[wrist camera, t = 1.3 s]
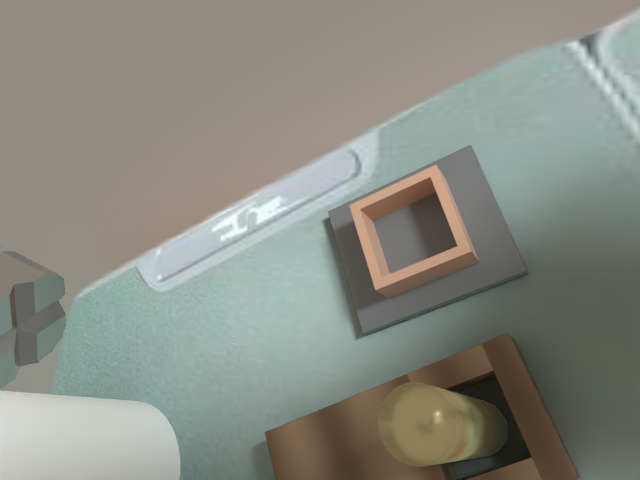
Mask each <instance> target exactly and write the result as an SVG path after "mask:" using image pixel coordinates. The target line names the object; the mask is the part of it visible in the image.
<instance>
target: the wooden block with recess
mask: <svg viewBox="0 0 640 480" xmlns="http://www.w3.org/2000/svg"><path fill="white" fill-rule="evenodd" d="M495 376H496V377H497V380H498V382H499V384H500V386H501V389H502V391H503V393H504V396H505V398H506V400H507V402H508V405H509V407H510V409H511V411H512V414H513V416H514V418H515V420H516V423H517V425H518V427H519V429H520V432H521V434H522V436H523V438H524V441H525V443H526V445H527V447H528V450H529V452H530V454H531V457H532V458H529V459H526V460H523V461H520V462H517V463H514V464H511V465H508V466H505V467H502V468H499V469H496V470H493V471H490V472H487V473H484V474H481V475H478V476H475V477H472V478H469V479H466V480H577V479H578V478H579V476H578V473H577V471H576V469H575V467H574V465H573V463H572V461H571V459H570V456H569V454H568V452H567V450H566V448H565V446H564V444H563V442H562V440H561V437H560V435H559V433H558V431H557V429H556V427H555V425H554V423H553V421H552V418H551V416H550V414H549V412H548V410H547V408H546V406H545V404H544V401H543V399H542V397H541V395H540V393H539V391H538V389H537V387H536V385H535V382H534V380H533V378H532V376H531V374H530V372H529V370H528V368H527V366H526V363H525V361H524V359H523V357H522V355H521V353H520V351H519V349H518V346H517V344H516V342H515V340H514V339H513V338H512V337H511V336H510V335H509V334H508V333H507V334H505V335H502V336H500V337H497V338H495V339H492V340H490V341H487V342H485V343H483V344H480V345H478V346H475V347H473V348H470V349H468V350H465V351H463V352H461V353H458V354H456V355H453V356H451V357H448V358H446V359H443V360H441V361H438V362H436V363H434V364H431V365H429V366H426V367H424V368H421V369H419V370H416V371H414V372H412V373H409V374H407V375H404V376H402V377H399V378H397V379H394V380H392V381H389V382H387V383H385V384H382V385H380V386H377V387H375V388H372V389H370V390H367V391H365V392H363V393H360V394H358V395H355V396H353V397H350V398H348V399H345V400H343V401H340V402H338V403H336V404H333V405H331V406H328V407H326V408H323V409H321V410H318V411H316V412H314V413H311V414H309V415H306V416H304V417H301V418H299V419H296V420H294V421H291V422H289V423H287V424H284V425H282V426H279V427H277V428H274V429H272V430H269V431H267V432H265V435H266V439H267V443H268V447H269V452H270V456H271V460H272V464H273V469H274V473H275V477H276V480H457V478H456V476H455V473H454V470H453V468H452V465H451V462H448V463H442V464H436V465H429V466H422V467H415V466H409V465H406V464H404V463H402V462H400V461H398V460H397V459H395V458H394V457H393V456H392V455H391V454H390V453H389V452H388V451H387V449H386V448H385V446H384V444H383V443H382V440H381V438H380V434H379V430H378V415H379V410H380V407H381V405H382V403H383V401H384V399H385V398H386V396H387V395H388V394H389V393H390V392H391V391H392V390H393V389H395V388H396V387H398V386H400V385H402V384H405V383H410V382H419V383H424V384H428V385H432V386H435V387H438V388H442V389H445V390H449V391H452V392H456V391H459V390H461V389H464V388H467V387H469V386H472V385H474V384H477V383H480V382H482V381H485V380H487V379H490V378H492V377H495Z"/></svg>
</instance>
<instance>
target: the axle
mask: <svg viewBox="0 0 640 480" xmlns="http://www.w3.org/2000/svg"><path fill="white" fill-rule="evenodd" d="M378 430H379V434H380V438H381V440H382V443H383V444H384V446H385V448H386V449H387V451H388V452H389V453H390V454H391V455H392V456H393V457H394V458H395V459H397V460H398V461H400V462H402V463H404V464H406V465H409V466H415V467H422V466H429V465H436V464H442V463H448V462H455V461H461V460H467V459H474V458H480V457H486V456H491V455H493V454H495V453H497V452H498V451H499V450H500V449H501V448H502V447H503V445H504V444H505V442H506V439H507V434H508V428H507V423H506V420H505V417H504V415H503V414H502V412H501V411H500V410H499V409H498V408H497V407H496V406H494V405H493V404H491V403H489V402H487V401H484V400H480V399H477V398H473V397H470V396H466V395H463V394H459V393H456V392H452V391H449V390H445V389H442V388H438V387H435V386H432V385H428V384H424V383H419V382H410V383H405V384H402V385H400V386H398V387H396V388H395V389H393V390H392V391H391V392H390V393H389V394H388V395H387V396H386V398H385V399H384V401H383V403H382V405H381V407H380V410H379V415H378Z"/></svg>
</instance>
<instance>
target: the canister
mask: <svg viewBox="0 0 640 480" xmlns="http://www.w3.org/2000/svg"><path fill="white" fill-rule="evenodd" d="M0 480H180V453H179V447H178V443H177V439H176V436H175V433H174V431H173V429H172V427H171V425H170V423H169V422H168V420H167V419H166V417H165V416H164V415H163V414H162V413H161V412H160V411H159V410H158V409H157V408H155V407H154V406H152V405H150V404H148V403H145V402H140V401H129V400H116V399H103V398H90V397H77V396H63V395H50V394H37V393H24V392H11V391H0Z"/></svg>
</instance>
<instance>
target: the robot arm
mask: <svg viewBox="0 0 640 480" xmlns="http://www.w3.org/2000/svg"><path fill="white" fill-rule="evenodd" d="M64 295H65V283H64V278H62V277H61V276H60V275H58V274H57V273H55V272H53V271H51V270H49V269H47V268H45V267H44V266H42V265H40V264H38V263H36V262H34V261H32V260H30V259H28V258H26V257H24V256H22V255H20V254H18V253H16V252H15V251H12V250H10V249H8V248H6V247H4V246H2V245H0V389H2V388H3V387H5V386H6V385H7V384H9V383H10V382H12V381H13V380H14V379H16V377H17V374H18V370H19V367H20V366H24V365H28V364H33V363H37V362H39V361H40V360H41V359H43V358H44V357H45V356H47V355H48V354H49V353H51V352H52V350H53V349H54V348H55V346H56V345H57V344H58V342H59V341H60V339H61V338H62V335H63V332H64V329H65V326H66V314H65V312H64V311H63V308H62V307H61V305H60V303H59V300H60V299H61V298H62V297H63V296H64Z"/></svg>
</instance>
